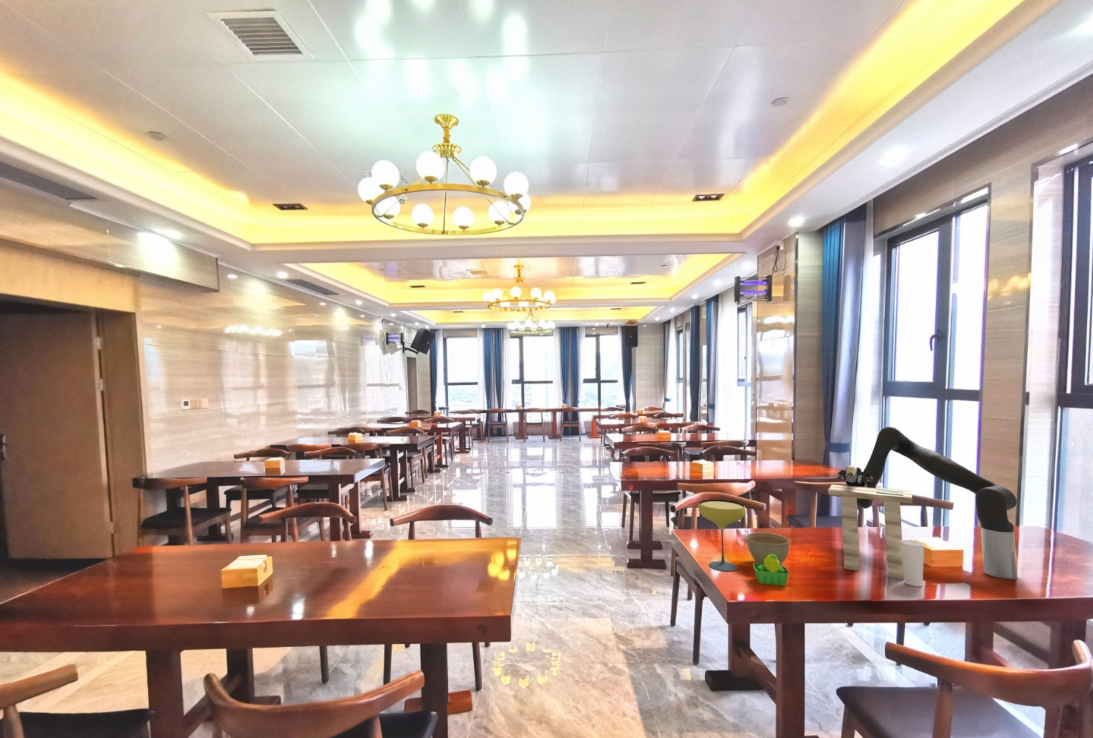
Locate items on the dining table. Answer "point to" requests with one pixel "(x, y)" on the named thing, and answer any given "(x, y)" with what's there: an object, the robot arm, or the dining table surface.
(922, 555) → the drinking glass
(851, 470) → the crank handle
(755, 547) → the planter bowl
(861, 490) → the shelf
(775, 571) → the fruit basket
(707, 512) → the cocktail glass
